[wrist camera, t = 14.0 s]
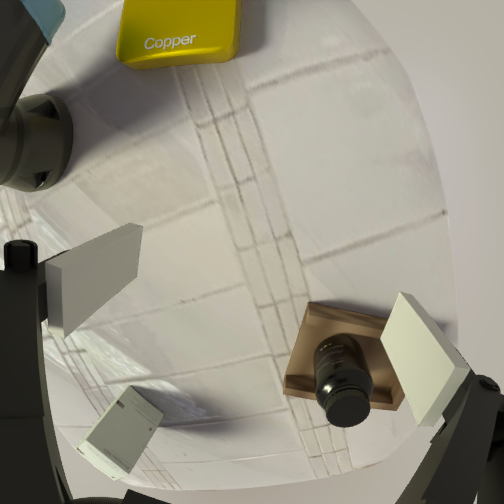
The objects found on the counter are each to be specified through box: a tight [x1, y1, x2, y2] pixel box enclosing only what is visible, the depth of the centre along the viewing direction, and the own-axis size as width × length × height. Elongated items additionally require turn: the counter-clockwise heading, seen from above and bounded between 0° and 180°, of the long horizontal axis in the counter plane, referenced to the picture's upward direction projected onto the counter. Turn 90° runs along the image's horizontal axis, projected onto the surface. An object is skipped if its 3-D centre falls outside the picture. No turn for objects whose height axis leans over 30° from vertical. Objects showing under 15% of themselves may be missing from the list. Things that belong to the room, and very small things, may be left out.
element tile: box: [116, 0, 242, 70], centre depth 31 cm, size 15×15×5 cm
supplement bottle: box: [313, 335, 374, 428], centre depth 35 cm, size 7×7×12 cm
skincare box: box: [75, 386, 164, 481], centre depth 42 cm, size 8×6×15 cm
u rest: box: [283, 302, 405, 411], centre depth 40 cm, size 17×12×4 cm
